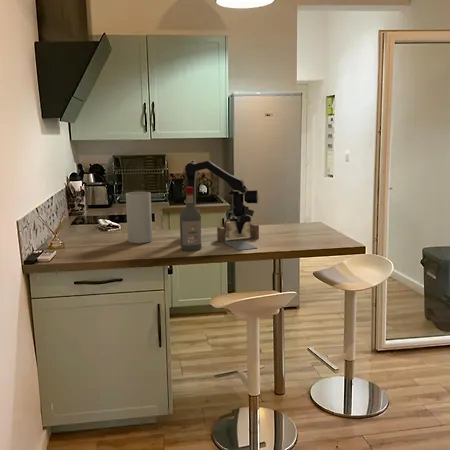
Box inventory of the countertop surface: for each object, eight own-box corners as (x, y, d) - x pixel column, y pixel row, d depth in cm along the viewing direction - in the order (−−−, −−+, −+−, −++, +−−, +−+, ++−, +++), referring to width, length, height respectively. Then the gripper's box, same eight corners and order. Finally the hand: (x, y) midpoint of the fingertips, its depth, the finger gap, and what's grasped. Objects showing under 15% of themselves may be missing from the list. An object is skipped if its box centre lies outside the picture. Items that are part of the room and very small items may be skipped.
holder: (221, 242, 267) (221, 229, 265) (217, 240, 272) (217, 227, 271) (258, 238, 275) (258, 225, 273) (253, 236, 280) (253, 223, 279)
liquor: (202, 250, 252) (201, 187, 246) (183, 251, 249) (182, 188, 243) (197, 245, 260) (196, 185, 254) (179, 247, 258) (178, 186, 252)
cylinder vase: (123, 242, 269) (120, 194, 264) (136, 237, 280) (134, 191, 275) (144, 244, 264) (142, 195, 259) (156, 239, 275) (155, 192, 271)
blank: (229, 238, 269) (229, 223, 267) (226, 237, 273) (225, 221, 271) (250, 236, 274) (250, 221, 272) (246, 234, 277) (246, 220, 276)
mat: (238, 250, 250) (238, 249, 250) (223, 242, 266) (223, 242, 266) (257, 248, 254) (257, 247, 254) (241, 240, 270) (241, 240, 270)
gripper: (260, 204, 264) (260, 234, 267) (244, 199, 281) (244, 228, 284) (240, 206, 260) (240, 237, 263) (225, 201, 277) (225, 230, 280)
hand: (238, 232), depth 273 cm, fingers closed on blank, 4 cm apart
